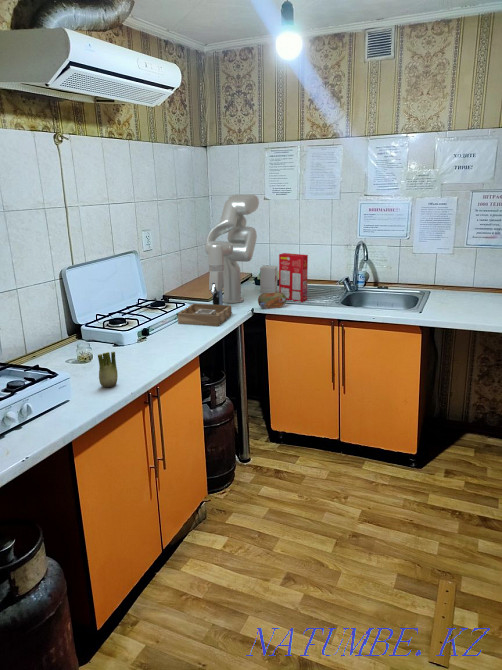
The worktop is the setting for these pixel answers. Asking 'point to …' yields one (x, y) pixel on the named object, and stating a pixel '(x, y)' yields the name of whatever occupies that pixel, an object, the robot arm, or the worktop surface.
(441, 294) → the worktop surface
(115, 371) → the fennel bulb
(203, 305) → the walled box
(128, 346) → the worktop surface
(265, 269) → the supplement box
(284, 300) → the brown snack packet
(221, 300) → the connector
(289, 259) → the food packaging
